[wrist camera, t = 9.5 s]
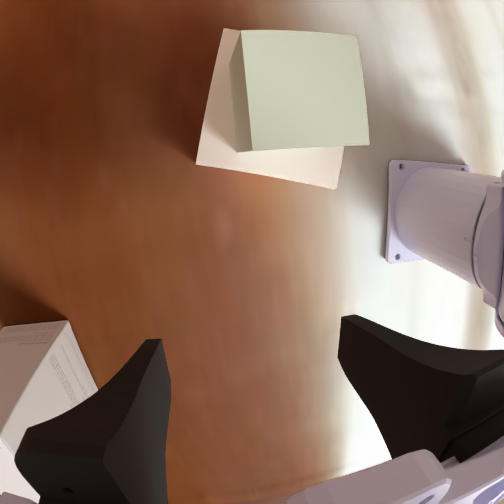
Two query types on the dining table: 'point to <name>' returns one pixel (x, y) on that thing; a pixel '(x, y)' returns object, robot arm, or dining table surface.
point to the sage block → (297, 90)
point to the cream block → (258, 162)
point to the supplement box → (36, 388)
